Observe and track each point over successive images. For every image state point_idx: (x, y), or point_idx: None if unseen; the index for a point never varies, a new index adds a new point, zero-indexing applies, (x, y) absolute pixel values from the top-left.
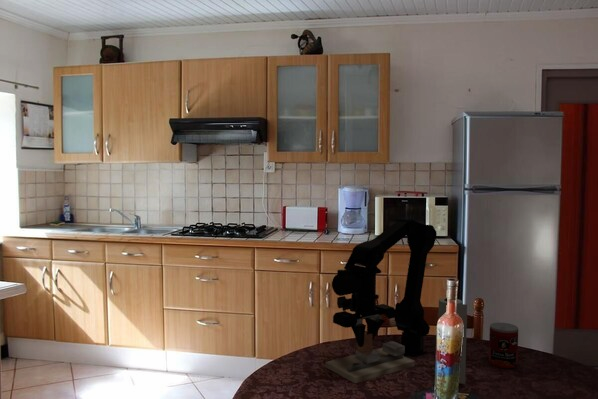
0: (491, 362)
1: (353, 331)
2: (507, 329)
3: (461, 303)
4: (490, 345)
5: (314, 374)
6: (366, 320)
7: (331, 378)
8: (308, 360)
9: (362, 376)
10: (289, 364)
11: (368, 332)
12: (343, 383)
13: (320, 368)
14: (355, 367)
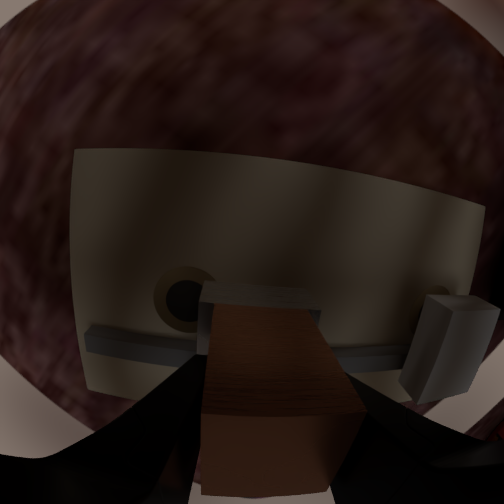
0: (495, 433)
1: (98, 435)
2: None
3: None
4: None
5: (13, 196)
6: (475, 493)
7: (41, 278)
8: (97, 37)
9: (126, 396)
10: (21, 51)
11: (327, 465)
12: (59, 344)
13: (64, 150)
14: (123, 358)
